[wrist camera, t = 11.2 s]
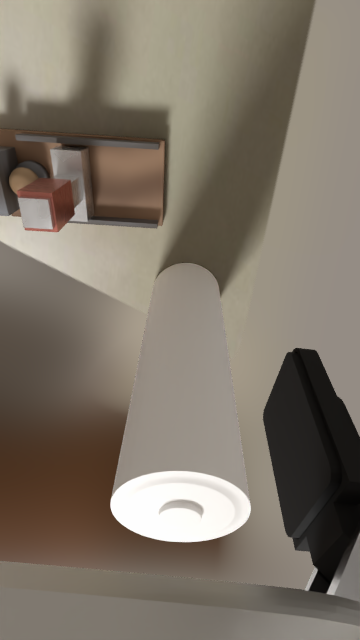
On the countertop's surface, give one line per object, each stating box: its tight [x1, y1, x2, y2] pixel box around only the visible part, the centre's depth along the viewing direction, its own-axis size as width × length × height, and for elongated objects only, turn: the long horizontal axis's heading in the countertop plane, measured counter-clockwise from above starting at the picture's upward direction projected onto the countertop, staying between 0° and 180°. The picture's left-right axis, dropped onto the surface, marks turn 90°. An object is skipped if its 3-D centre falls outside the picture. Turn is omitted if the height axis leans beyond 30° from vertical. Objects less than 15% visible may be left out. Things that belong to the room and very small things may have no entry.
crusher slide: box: [17, 145, 94, 232], centre depth 32 cm, size 7×3×12 cm, turn 177°
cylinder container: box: [111, 263, 251, 542], centre depth 34 cm, size 9×9×30 cm
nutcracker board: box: [0, 129, 165, 228], centre depth 36 cm, size 9×18×6 cm, turn 87°
